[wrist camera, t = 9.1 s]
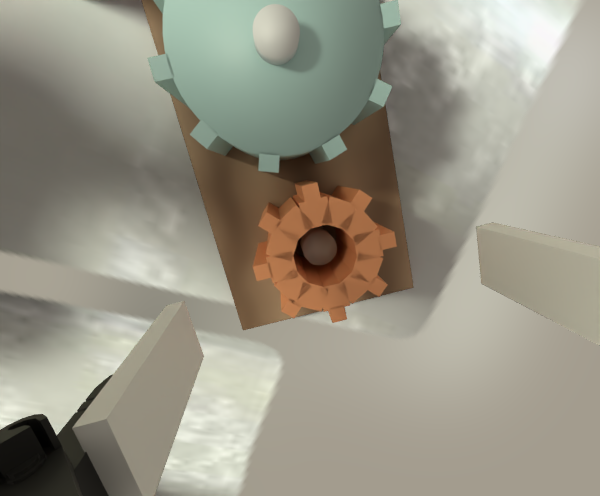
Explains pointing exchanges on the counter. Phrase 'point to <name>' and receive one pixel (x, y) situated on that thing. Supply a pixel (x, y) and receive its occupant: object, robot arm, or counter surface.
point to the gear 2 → (342, 268)
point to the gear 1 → (275, 71)
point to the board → (278, 189)
